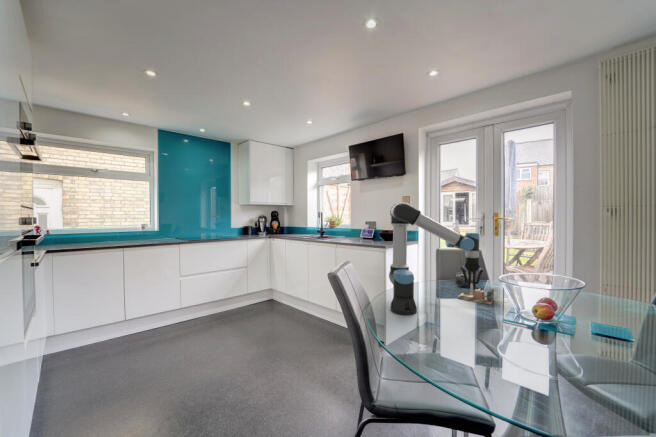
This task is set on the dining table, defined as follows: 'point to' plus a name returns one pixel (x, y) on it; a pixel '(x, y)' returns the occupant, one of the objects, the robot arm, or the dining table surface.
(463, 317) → the dining table surface
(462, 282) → the camera
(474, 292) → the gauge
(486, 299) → the scale board
